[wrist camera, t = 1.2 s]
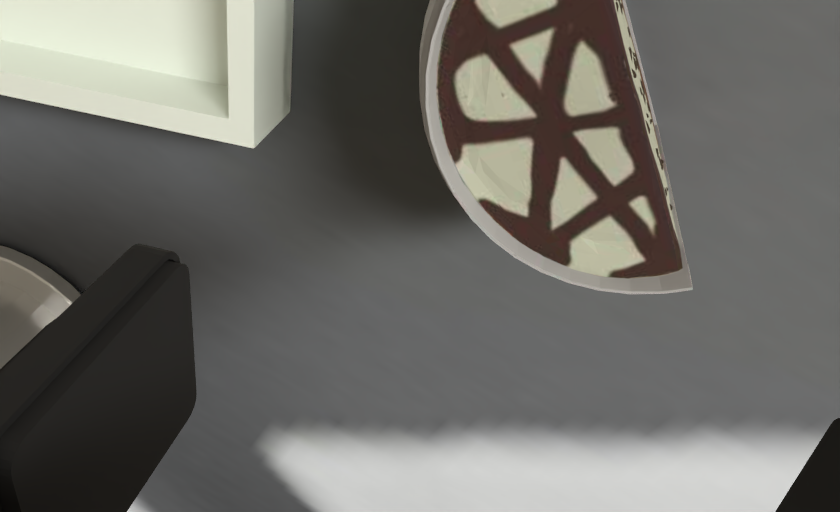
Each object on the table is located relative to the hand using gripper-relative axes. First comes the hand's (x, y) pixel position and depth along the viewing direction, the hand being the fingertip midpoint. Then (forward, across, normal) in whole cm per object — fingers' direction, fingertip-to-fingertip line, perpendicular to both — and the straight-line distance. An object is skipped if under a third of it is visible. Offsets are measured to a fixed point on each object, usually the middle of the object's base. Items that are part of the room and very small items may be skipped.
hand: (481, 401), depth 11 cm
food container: (+20, 0, 0) cm, 20 cm away
